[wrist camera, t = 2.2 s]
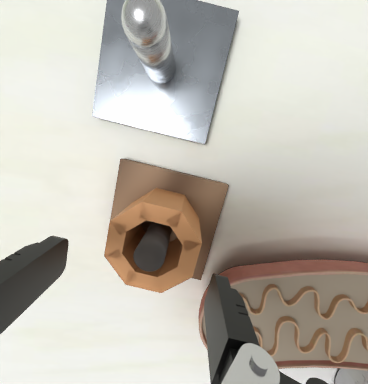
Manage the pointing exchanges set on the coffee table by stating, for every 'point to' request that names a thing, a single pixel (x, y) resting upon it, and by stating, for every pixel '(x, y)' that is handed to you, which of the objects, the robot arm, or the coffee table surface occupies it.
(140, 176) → the stand
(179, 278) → the collar
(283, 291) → the anatomical model
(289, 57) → the coffee table surface
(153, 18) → the silver peg on base
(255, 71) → the coffee table surface
